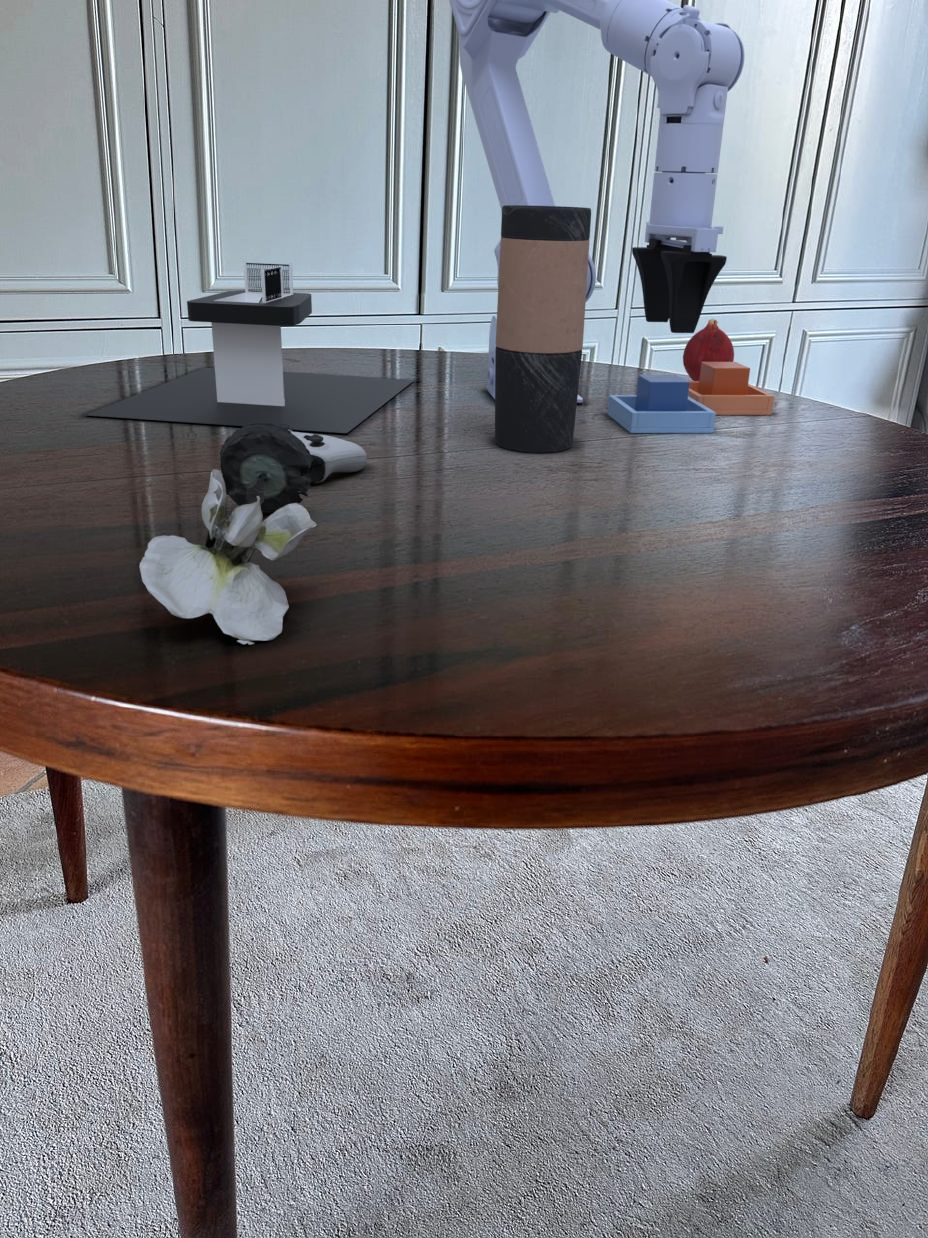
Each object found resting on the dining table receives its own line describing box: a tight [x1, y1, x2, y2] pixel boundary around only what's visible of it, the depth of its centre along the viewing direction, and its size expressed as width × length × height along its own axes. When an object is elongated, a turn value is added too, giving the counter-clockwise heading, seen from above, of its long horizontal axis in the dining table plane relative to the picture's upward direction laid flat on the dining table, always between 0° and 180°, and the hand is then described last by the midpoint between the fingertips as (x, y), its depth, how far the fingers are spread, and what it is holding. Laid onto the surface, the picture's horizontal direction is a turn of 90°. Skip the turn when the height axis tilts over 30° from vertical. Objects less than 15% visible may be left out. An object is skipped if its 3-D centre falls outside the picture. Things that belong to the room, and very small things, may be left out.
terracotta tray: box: [687, 380, 775, 416], centre depth 108 cm, size 8×8×2 cm
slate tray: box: [606, 394, 717, 434], centre depth 99 cm, size 8×8×2 cm
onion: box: [682, 318, 735, 381], centre depth 116 cm, size 6×6×8 cm
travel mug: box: [494, 205, 592, 454], centre depth 86 cm, size 8×8×20 cm
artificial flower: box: [139, 423, 317, 646], centre depth 58 cm, size 9×22×10 cm, turn 178°
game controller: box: [278, 424, 368, 484], centre depth 79 cm, size 10×5×6 cm
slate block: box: [635, 374, 690, 412], centre depth 99 cm, size 4×4×4 cm
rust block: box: [698, 361, 751, 395], centre depth 107 cm, size 4×4×4 cm
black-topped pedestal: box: [85, 260, 415, 434], centre depth 103 cm, size 28×26×13 cm
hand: (669, 326), depth 96 cm, fingers open, 7 cm apart
